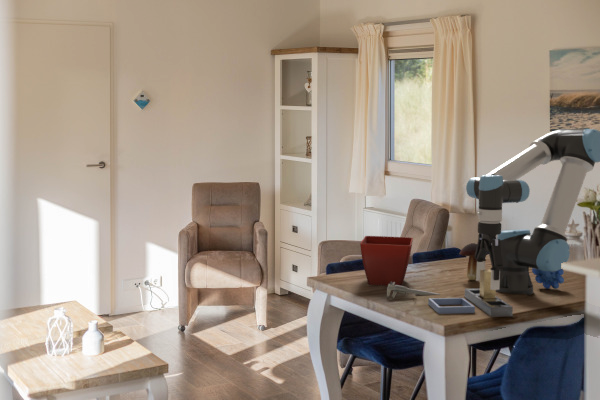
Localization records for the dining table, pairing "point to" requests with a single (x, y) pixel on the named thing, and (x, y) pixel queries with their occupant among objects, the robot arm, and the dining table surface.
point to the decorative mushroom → (470, 260)
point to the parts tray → (465, 308)
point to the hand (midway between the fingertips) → (487, 285)
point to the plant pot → (385, 259)
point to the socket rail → (489, 304)
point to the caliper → (405, 290)
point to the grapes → (549, 278)
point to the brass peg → (486, 285)
